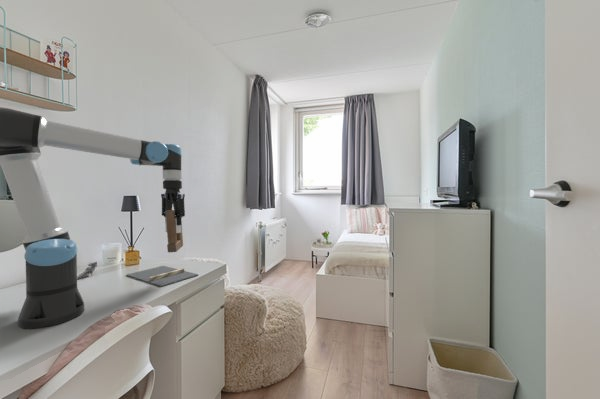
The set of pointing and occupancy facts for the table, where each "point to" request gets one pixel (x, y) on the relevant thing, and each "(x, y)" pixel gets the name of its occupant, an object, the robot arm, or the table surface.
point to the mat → (161, 282)
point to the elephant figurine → (88, 269)
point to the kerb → (166, 274)
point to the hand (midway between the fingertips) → (173, 232)
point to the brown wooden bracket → (173, 232)
